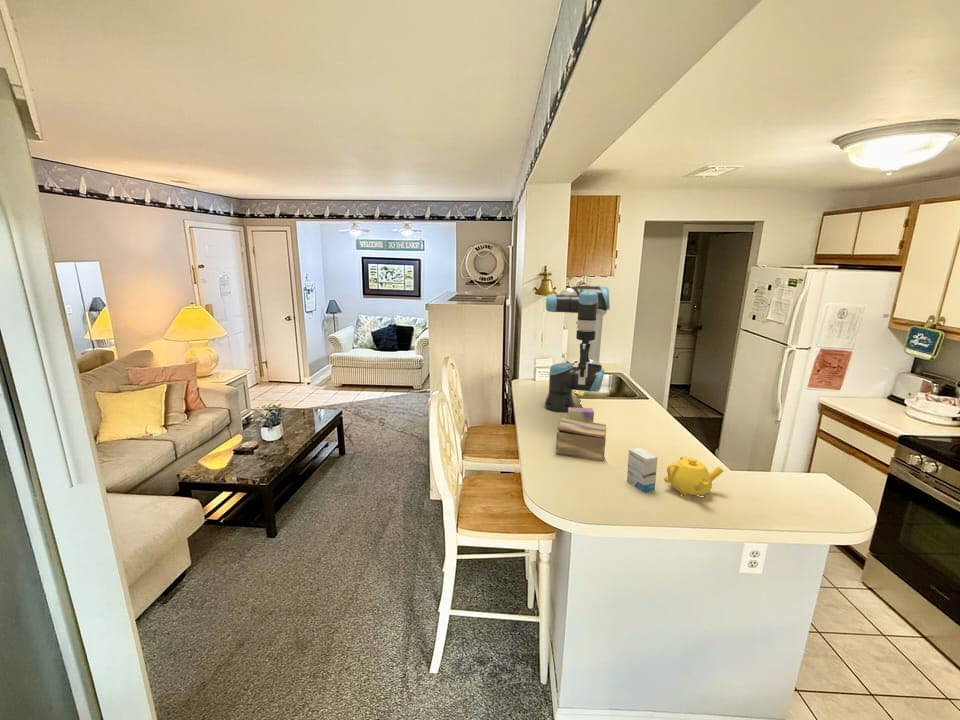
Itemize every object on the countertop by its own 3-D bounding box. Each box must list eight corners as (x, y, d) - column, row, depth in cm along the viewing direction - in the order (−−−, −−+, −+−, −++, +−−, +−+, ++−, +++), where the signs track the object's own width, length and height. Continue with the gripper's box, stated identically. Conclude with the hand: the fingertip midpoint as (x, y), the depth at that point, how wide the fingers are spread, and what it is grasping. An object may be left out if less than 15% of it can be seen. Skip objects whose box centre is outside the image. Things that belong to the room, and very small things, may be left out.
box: (590, 433, 184) (592, 407, 181) (592, 438, 178) (594, 412, 175) (566, 432, 184) (567, 406, 182) (567, 437, 179) (569, 411, 176)
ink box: (655, 490, 136) (659, 457, 133) (642, 493, 134) (646, 459, 132) (637, 478, 144) (640, 446, 141) (625, 480, 142) (628, 448, 140)
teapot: (703, 508, 126) (708, 474, 124) (659, 490, 136) (663, 458, 134) (721, 492, 135) (726, 460, 133) (678, 477, 145) (682, 447, 143)
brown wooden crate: (559, 442, 173) (560, 422, 171) (604, 448, 168) (606, 427, 166) (555, 454, 162) (556, 432, 160) (603, 461, 156) (605, 438, 155)
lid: (561, 419, 171) (561, 417, 171) (605, 426, 166) (606, 424, 166) (557, 429, 159) (557, 427, 159) (604, 438, 154) (605, 435, 154)
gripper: (579, 326, 184) (576, 373, 189) (573, 333, 161) (570, 387, 166) (596, 326, 182) (593, 374, 186) (593, 334, 159) (590, 388, 164)
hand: (582, 380), depth 176 cm, fingers open, 12 cm apart
